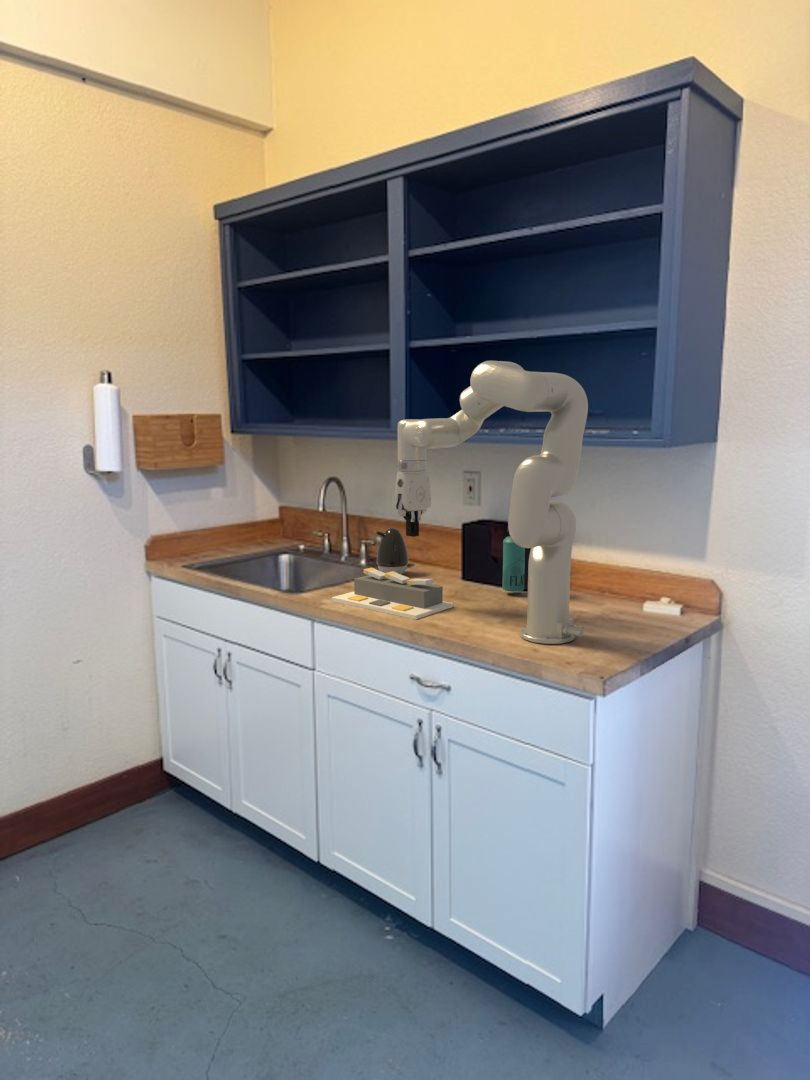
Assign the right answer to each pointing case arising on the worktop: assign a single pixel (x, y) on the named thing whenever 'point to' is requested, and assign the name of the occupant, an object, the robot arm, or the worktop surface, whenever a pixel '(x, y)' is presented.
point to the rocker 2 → (420, 581)
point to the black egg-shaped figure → (392, 552)
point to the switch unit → (395, 597)
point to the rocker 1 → (374, 573)
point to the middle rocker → (397, 577)
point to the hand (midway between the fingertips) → (412, 535)
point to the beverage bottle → (513, 565)
